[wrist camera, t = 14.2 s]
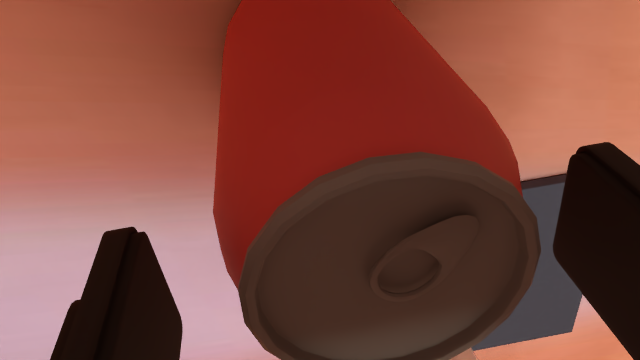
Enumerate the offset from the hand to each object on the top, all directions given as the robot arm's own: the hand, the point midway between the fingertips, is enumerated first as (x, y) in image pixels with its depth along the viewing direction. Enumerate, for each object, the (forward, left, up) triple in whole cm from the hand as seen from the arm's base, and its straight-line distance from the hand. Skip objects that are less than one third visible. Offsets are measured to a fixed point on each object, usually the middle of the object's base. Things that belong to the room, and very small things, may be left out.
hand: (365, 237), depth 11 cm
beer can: (-1, 0, -10) cm, 10 cm away
